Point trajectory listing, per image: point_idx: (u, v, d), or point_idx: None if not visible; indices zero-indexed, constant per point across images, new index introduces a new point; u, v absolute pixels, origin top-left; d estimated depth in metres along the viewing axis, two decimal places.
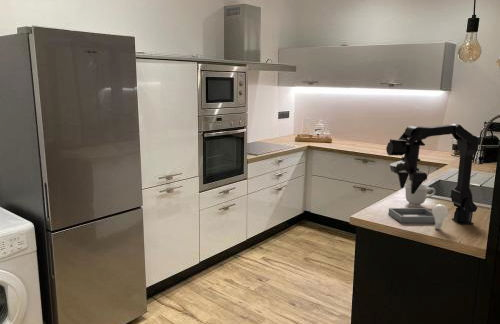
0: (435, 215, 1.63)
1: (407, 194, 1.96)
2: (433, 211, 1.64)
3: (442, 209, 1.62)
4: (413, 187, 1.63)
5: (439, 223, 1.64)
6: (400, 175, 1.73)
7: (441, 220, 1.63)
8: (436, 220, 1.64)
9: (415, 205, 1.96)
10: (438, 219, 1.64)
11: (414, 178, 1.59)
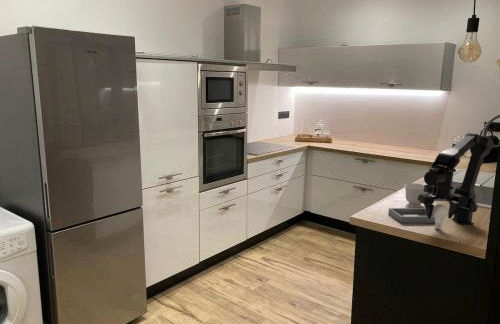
0: (435, 215, 1.63)
1: (407, 194, 1.96)
2: (433, 211, 1.64)
3: (442, 209, 1.62)
4: (426, 211, 1.65)
5: (439, 223, 1.64)
6: (450, 204, 1.66)
7: (441, 220, 1.63)
8: (436, 220, 1.64)
9: (415, 205, 1.96)
10: (438, 219, 1.64)
11: None
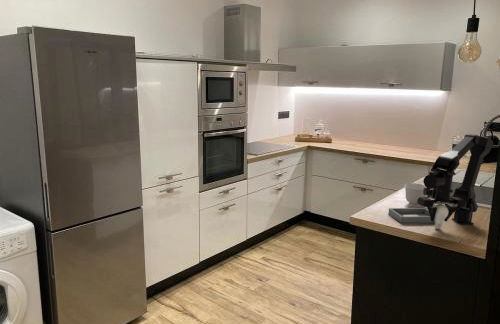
0: (435, 215, 1.63)
1: (407, 194, 1.96)
2: None
3: (442, 209, 1.62)
4: (429, 214, 1.65)
5: (439, 223, 1.64)
6: None
7: (441, 220, 1.63)
8: (436, 220, 1.64)
9: (415, 205, 1.96)
10: (438, 219, 1.64)
11: (417, 201, 1.65)
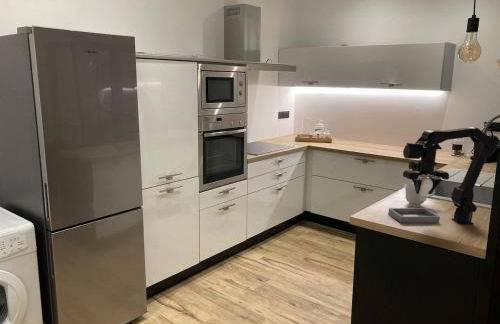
0: (420, 187, 1.70)
1: (407, 194, 1.96)
2: None
3: (427, 181, 1.68)
4: (415, 186, 1.71)
5: (424, 195, 1.71)
6: None
7: (426, 192, 1.70)
8: (421, 192, 1.71)
9: (415, 205, 1.96)
10: (423, 191, 1.70)
11: (403, 175, 1.71)
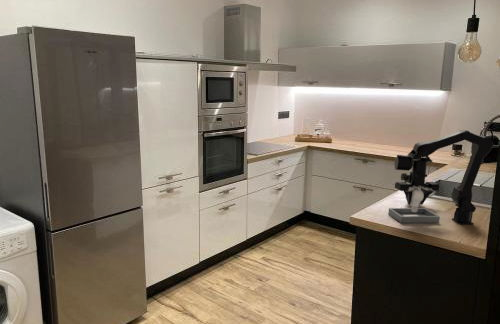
0: (411, 198, 1.75)
1: None
2: None
3: (417, 192, 1.73)
4: (406, 197, 1.76)
5: (415, 206, 1.76)
6: None
7: (417, 203, 1.75)
8: (412, 203, 1.76)
9: None
10: (414, 202, 1.75)
11: None
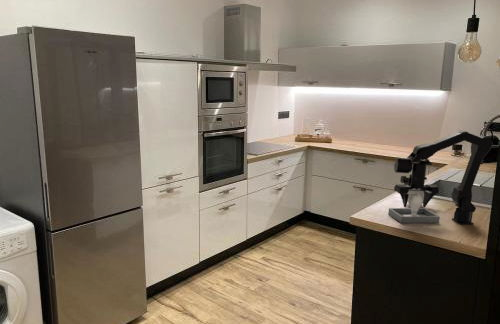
0: (410, 203, 1.76)
1: None
2: (409, 200, 1.76)
3: (417, 197, 1.74)
4: (402, 200, 1.76)
5: (414, 211, 1.76)
6: (424, 194, 1.78)
7: (416, 208, 1.75)
8: (412, 208, 1.76)
9: None
10: (413, 207, 1.76)
11: (394, 188, 1.77)
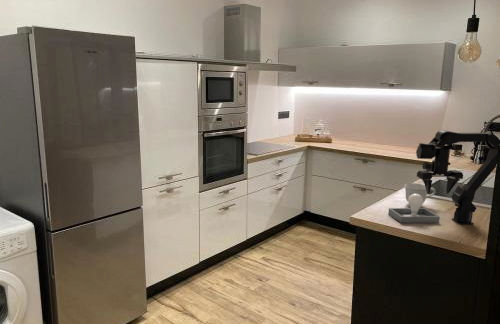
0: (411, 203, 1.76)
1: (407, 194, 1.96)
2: (409, 200, 1.76)
3: (417, 197, 1.74)
4: (425, 186, 1.73)
5: (415, 211, 1.76)
6: (448, 180, 1.75)
7: (416, 208, 1.75)
8: (412, 208, 1.76)
9: None
10: (414, 207, 1.76)
11: (417, 175, 1.74)
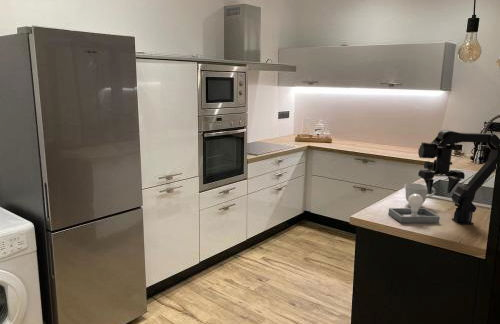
0: (411, 204, 1.75)
1: (407, 194, 1.96)
2: (409, 200, 1.76)
3: (417, 198, 1.74)
4: (427, 186, 1.73)
5: (414, 211, 1.76)
6: (449, 180, 1.74)
7: (416, 208, 1.75)
8: (412, 209, 1.76)
9: None
10: (413, 207, 1.76)
11: (418, 174, 1.74)
